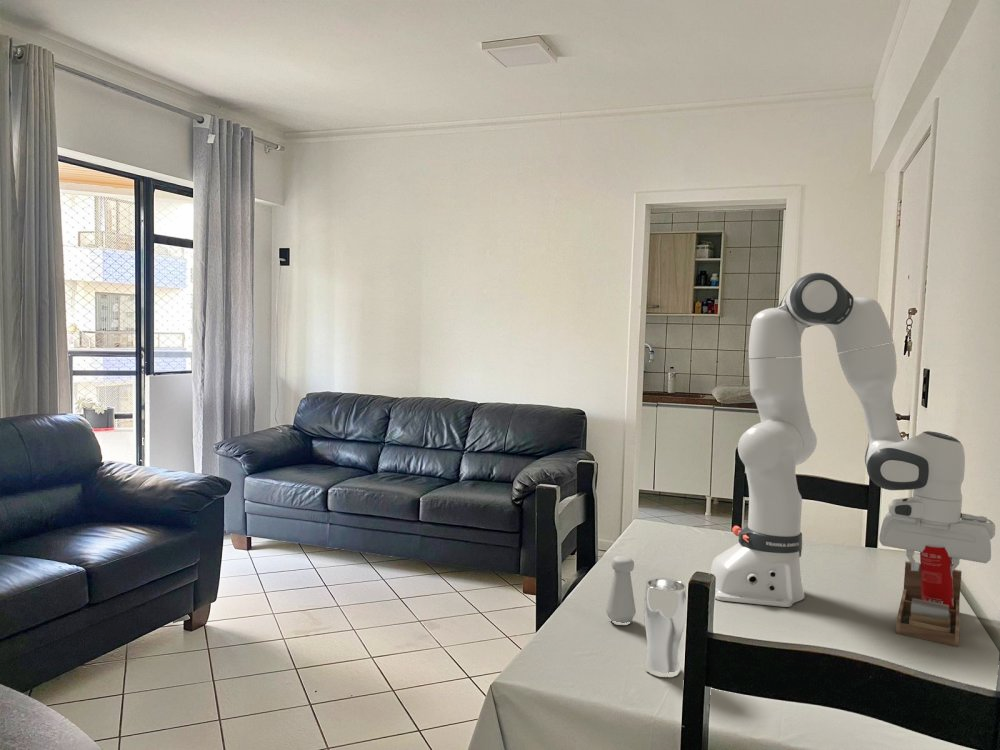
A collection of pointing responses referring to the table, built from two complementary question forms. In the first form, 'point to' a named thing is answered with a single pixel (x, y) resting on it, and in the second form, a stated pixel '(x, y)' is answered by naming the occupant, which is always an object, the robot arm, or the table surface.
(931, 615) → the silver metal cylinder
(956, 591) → the rack
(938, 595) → the beverage can
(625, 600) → the salt shaker
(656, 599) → the beer glass
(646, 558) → the table surface
